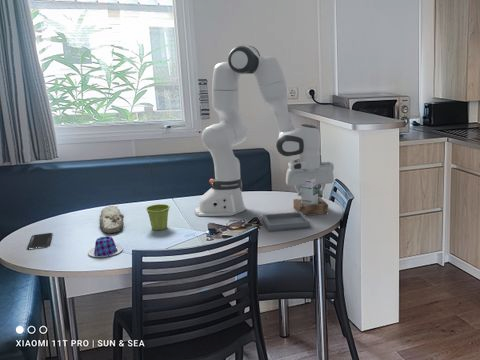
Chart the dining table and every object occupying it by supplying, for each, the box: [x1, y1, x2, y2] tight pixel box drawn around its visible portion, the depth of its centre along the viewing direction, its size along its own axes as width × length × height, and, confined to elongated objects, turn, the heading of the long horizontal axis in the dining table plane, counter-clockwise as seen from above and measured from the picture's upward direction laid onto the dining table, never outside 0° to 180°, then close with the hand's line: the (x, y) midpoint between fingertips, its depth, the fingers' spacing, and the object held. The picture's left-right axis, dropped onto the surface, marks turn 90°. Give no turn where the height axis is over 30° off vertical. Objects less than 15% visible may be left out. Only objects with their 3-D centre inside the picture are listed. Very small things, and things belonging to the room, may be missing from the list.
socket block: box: [293, 196, 329, 216], centre depth 209 cm, size 12×12×4 cm
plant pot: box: [145, 203, 171, 231], centre depth 195 cm, size 9×9×9 cm
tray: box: [262, 211, 311, 232], centre depth 193 cm, size 16×14×2 cm
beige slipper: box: [99, 205, 125, 234], centre depth 207 cm, size 35×5×10 cm
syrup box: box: [300, 179, 320, 205], centre depth 208 cm, size 6×6×14 cm
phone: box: [27, 232, 54, 249], centre depth 187 cm, size 8×1×15 cm
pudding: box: [88, 235, 124, 258], centre depth 173 cm, size 12×12×5 cm
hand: (309, 194), depth 208 cm, fingers closed on syrup box, 8 cm apart
